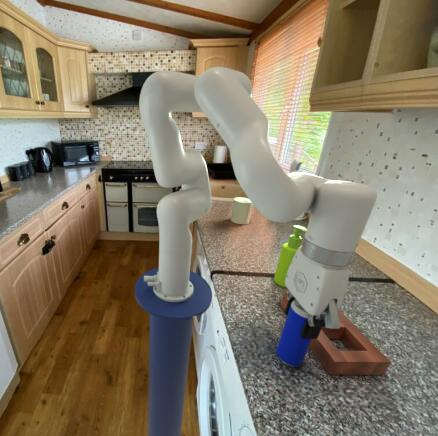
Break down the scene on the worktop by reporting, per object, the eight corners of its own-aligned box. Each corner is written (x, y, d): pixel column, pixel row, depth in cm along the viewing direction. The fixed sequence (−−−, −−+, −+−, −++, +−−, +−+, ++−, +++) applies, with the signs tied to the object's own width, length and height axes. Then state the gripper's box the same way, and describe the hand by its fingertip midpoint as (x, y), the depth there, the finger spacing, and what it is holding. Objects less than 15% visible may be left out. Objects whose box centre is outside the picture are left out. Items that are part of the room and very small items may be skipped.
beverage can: (290, 345, 57) (308, 295, 51) (307, 366, 53) (328, 313, 47) (270, 348, 56) (286, 298, 50) (286, 370, 52) (305, 317, 46)
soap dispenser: (288, 291, 75) (305, 234, 67) (269, 278, 81) (283, 224, 73) (300, 286, 77) (318, 230, 70) (282, 274, 83) (296, 221, 75)
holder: (329, 374, 51) (335, 361, 49) (280, 305, 70) (283, 294, 68) (383, 375, 51) (391, 362, 49) (320, 305, 70) (324, 294, 68)
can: (236, 225, 121) (240, 202, 116) (227, 218, 129) (230, 196, 125) (252, 223, 123) (257, 201, 118) (242, 216, 131) (245, 195, 127)
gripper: (281, 229, 51) (263, 297, 59) (340, 280, 36) (306, 364, 43) (316, 230, 51) (294, 297, 59) (390, 280, 36) (348, 364, 43)
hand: (299, 324), depth 51 cm, fingers closed on beverage can, 5 cm apart
